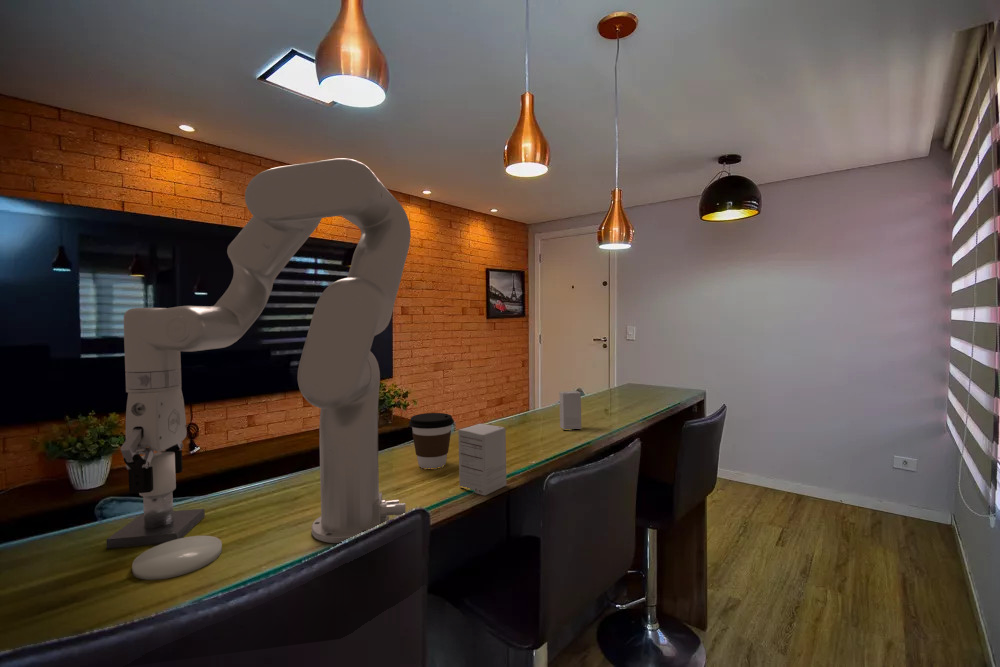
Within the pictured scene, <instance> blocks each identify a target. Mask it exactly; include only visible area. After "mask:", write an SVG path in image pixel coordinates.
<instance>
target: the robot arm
mask: <svg viewBox="0 0 1000 667" xmlns="http://www.w3.org/2000/svg"><path fill="white" fill-rule="evenodd" d="M244 193H245V194H244V201H245V202H244V203H245V205H246V207H247V209H248V211H249V212H250V214H251V215H252V217H251V218H250V219H249V220H248V222H247V223H246V224H245V226H243V227H242V229H241V230H240V232H239V233H238V234H237V235H236V236H235V237H234V239H233V240H232V241H231V242H230V243H229V244H228V246H227V250H226V253H227V256H228V259H229V260H230V262H231V265H232V269H233V276H232V279H231V282H230V284H229V286H228V288H226V290H225V292H224V293H223V295H222V296H220V298H219V299H218V300H217V301H216V303H215V304H214V305H211V306H208V305H207V306H206V305H204V306H203V305H182V306H181V305H180V306H174V307H168V308H167V307H134V308H130V309H128V310H127V311H125V313H124V315H123V341H124V342H123V344H124V345H123V346H124V369H125V370H124V372H125V393H127V399H126V410H125V441H124V442H123V444H122V445H121V446H120V452H121V455H122V457H123V462H124V463H125V468H126V470H127V471H128V492H129V493H130V494H139V493H147V492H151V491H153V466H151V467H149V466H150V463H151V460H152V457H153V454H154V453H157V452H174V453H175V474H180V473H182V472H183V468H184V467H183V448H184V444H183V441H184V440H185V439H186V438H187V436H188V435H187V432H188V430H187V419H186V417H187V416H186V407H185V399H184V396H183V395H184V394H183V391H182V390H183V389H182V363H181V362H182V361H181V360H182V359H181V358H182V357H181V352H198V351H199V352H200V351H206V350H207V351H208V350H217V349H223V348H227V347H230V346H232V345H233V344H234V343H236V342H238V340H239V339H241V338H242V337H243V336H244V335H245V334H246V332H247V331H248V330H249V329H250V328H251V327H252V326H253V324H254V323H255V322H256V320H257V319H258V318H259V317H260V315H261V314H262V313H263V310H265V307H266V305H267V303H268V301H269V298H270V295H271V293H272V290H273V287H274V286H273V285H274V281H275V280H276V278H277V277H278V276H279V274H281V272H282V270H284V268H285V267H286V266H287V264H289V262H290V261H291V259H292V258H293V257H294V256H295V255H296V253H297V252H298V251H299V249H300V248H301V247H302V246H303V245H304V244H305V243H306V241H307V240H308V239H309V238H310V237H311V235H312V234H313V233H314V231H315V230H316V229H317V228H318V226H319V225H320V223H321V221H322V219H325V218H332V217H342V218H344V219H345V220H347V221H349V223H351V224H353V225H355V226H356V227H357V228H358V229H359V230H360V234H361V236H360V238H359V241H358V243H357V245H356V248H355V250H354V252H353V255H352V259H351V263H350V264H351V265H350V267H349V271H348V274H347V277H344V278H340V279H337V280H336V281H334V282H332V283H331V284H329V285H328V286H327V287H326V288H325V289H324V290H323V292H322V293H321V295H320V296H319V298H318V300H317V301H316V304H315V307H314V311H313V313H312V317H311V320H310V325H309V328H308V331H307V335H306V338H305V342H304V345H303V349H302V353H301V357H300V360H299V364H298V368H297V384H298V388H299V392H300V393H301V396H303V398H304V399H305V400H306V401H307V402H308V403H309V404H310V405H312V406H314V407H316V408H318V409H320V412H319V474H320V478H319V481H320V512H321V513H320V516H319V517H317V518H316V519H315V520H314V521H313V523H312V524H311V535H312V536H313V537H314V539H317V540H318V541H320V542H323V543H328V544H340V543H339V542H341V541H344V540H346V539H348V538H350V537H353V536H355V535H357V534H359V533H361V532H364V531H366V530H368V529H371V528H373V527H375V526H377V525H379V524H381V523H383V522H385V521H387V520H389V518H390V516H402V515H401V514H403V513H405V512H406V511H407V510H406V502H401V503H400V500H399V499H391V500H386V499H383V492H380V486H379V485H380V481H379V480H380V478H379V475H380V474H379V398H380V397H379V396H380V384H381V383H380V382H381V371H380V367H379V362H378V360H377V358H376V356H375V355H374V353H373V352H372V351H371V349H372V345H373V342H374V338H375V336H377V335H379V334H381V333H382V332H383V331H386V328H387V327H388V326H389V324H390V321H391V319H392V315H393V311H394V307H395V303H396V300H397V295H398V291H399V288H400V286H401V285H400V284H401V281H402V280H401V279H402V278H403V271H404V269H405V264H406V260H407V258H408V252H409V249H410V246H411V245H410V243H411V236H412V235H411V224H410V220H409V217H408V215H407V212H406V210H405V209H404V208H403V206H402V204H401V203H400V202H399V201H398V200H397V199H396V198H395V196H394V195H393V194H392V193H391V192H390V191H389V190H388V189H387V187H386V186H385V185H384V184H383V183H382V181H381V180H380V179H379V178H378V177H377V176H376V174H375V173H374V171H372V169H370V167H368V166H367V165H366V164H365V163H363V162H361V161H359V160H355V159H352V158H343V157H342V158H341V157H340V158H339V157H338V158H332V159H325V160H324V159H323V160H319V161H311V162H303V163H296V164H289V165H288V164H287V165H283V166H276V167H272V168H270V169H265V170H263V171H261V172H259V173H258V174H256V175H255V176H254V177H252V178H251V180H250V181H249V183H248V184H247V186H246V188H245V192H244ZM141 455H145V457H144V459H143V458H142V457H141Z"/></svg>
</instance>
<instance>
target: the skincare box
mask: <svg viewBox="0 0 1000 667" xmlns="http://www.w3.org/2000/svg"><path fill="white" fill-rule="evenodd" d="M558 396H559V397H558V398H559V428H560V427H561V428H563V429H564V430H565V429H581V430H582V393H581V392H579V391H578V390H568V391H566V390H565V391H559V395H558ZM561 428H560V429H561Z"/></svg>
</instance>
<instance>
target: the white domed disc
mask: <svg viewBox="0 0 1000 667" xmlns="http://www.w3.org/2000/svg"><path fill="white" fill-rule="evenodd" d="M222 543H223V542H222V540H221V539H220V538H219V537H216V536H213V535H212V536H211V535H193V536H186V537H185V536H184V537H182V538H180V539H176V540H172V541H169V542H166V543H163V544H156V545H154V546H153V547H151V548H148V549H146V551H143V552H142V553H140V554H139V555H138V556H136V557H135V558H134V560H133V561H132V566H131V570H132V575H133V576H134V577H135V578H137V579H140V580H145V581H146V580H147V581H154V580H156V581H157V580H165V579H170V578H176V577H180V576H182V575H186V574H189V573H191V572H195V571H198V570H199V569H201V568H204V567H206V566H208V565H210V563H212V562H214V561H215V560H216V559H217V558H218V557H220V555H221V553H222V551H223V544H222Z"/></svg>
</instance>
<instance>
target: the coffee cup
mask: <svg viewBox="0 0 1000 667" xmlns="http://www.w3.org/2000/svg"><path fill="white" fill-rule="evenodd" d="M454 424H455V420H454V418H453V416H452V415H451V414H449V413H443V412H426V413H419V414H415V415H413V416H411V417H410V420H409V421H408V426H409V427H411V428H412V432H411V433H412V438H413V439H412V440H413V444H414V450H415V455H416V458H417V462H418V463H417V464H418V466H419V467H421V468H420V469H422V468H427V469H428V468H430V469H431V468H438V467H442V466H443V465H446V463H447V460H448V459H447V457H448V453H449V448H450V441H451V436H452V430H451V429H452V425H454ZM442 468H443V467H442Z"/></svg>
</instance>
